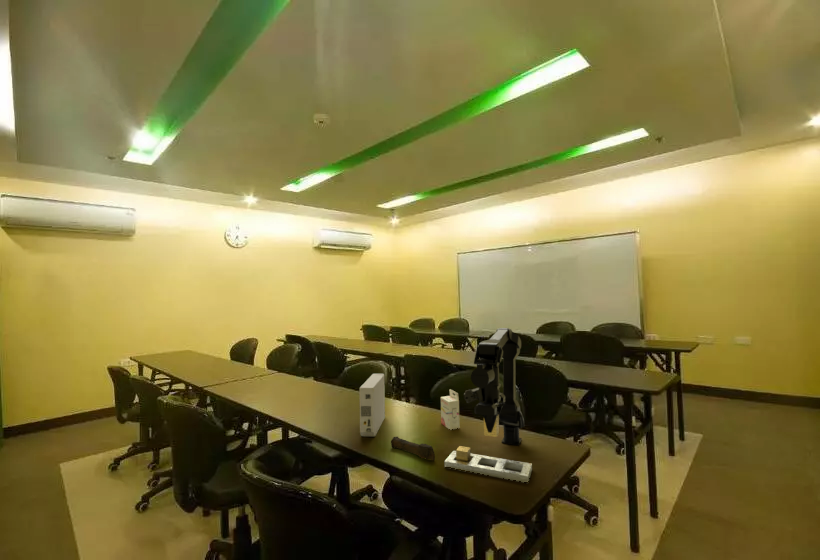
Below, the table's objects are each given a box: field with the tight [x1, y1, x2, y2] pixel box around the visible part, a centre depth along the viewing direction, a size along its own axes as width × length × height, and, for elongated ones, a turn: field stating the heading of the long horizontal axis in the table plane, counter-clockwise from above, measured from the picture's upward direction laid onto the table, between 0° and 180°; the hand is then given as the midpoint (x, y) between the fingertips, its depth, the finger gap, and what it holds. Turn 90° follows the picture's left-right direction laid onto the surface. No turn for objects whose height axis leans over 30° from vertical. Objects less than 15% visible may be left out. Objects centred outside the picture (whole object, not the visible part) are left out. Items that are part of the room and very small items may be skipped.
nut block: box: [483, 414, 500, 438], centre depth 119 cm, size 4×4×6 cm
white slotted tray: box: [444, 445, 533, 483], centre depth 118 cm, size 9×26×5 cm, turn 65°
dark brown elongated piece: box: [390, 436, 436, 461], centre depth 131 cm, size 19×4×5 cm, turn 46°
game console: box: [358, 373, 386, 437], centre depth 159 cm, size 6×27×20 cm, turn 174°
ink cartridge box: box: [440, 388, 461, 431], centre depth 158 cm, size 9×5×15 cm, turn 22°
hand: (491, 430), depth 119 cm, fingers closed on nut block, 4 cm apart
